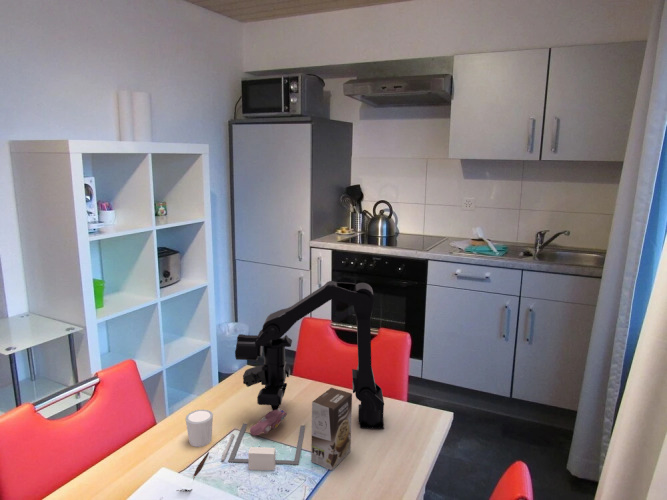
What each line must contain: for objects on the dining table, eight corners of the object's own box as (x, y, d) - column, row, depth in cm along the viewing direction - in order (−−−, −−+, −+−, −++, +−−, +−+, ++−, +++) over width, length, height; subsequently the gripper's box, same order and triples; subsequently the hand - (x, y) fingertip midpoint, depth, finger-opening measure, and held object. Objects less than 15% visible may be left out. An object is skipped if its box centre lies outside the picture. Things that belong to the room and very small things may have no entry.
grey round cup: (205, 429, 129) (204, 406, 127) (219, 440, 124) (218, 416, 123) (181, 440, 124) (180, 415, 123) (195, 451, 119) (193, 426, 118)
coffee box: (332, 471, 113) (333, 409, 109) (310, 462, 116) (310, 401, 113) (351, 451, 120) (353, 393, 117) (330, 443, 124) (331, 386, 120)
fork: (213, 454, 119) (213, 447, 119) (187, 499, 103) (187, 491, 103) (203, 453, 119) (203, 446, 119) (176, 498, 104) (175, 490, 103)
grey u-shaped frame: (305, 426, 131) (305, 411, 130) (297, 471, 112) (297, 454, 112) (236, 424, 132) (236, 409, 131) (217, 468, 113) (217, 452, 112)
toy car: (258, 444, 125) (266, 427, 122) (247, 432, 127) (255, 414, 124) (283, 427, 133) (291, 410, 130) (272, 416, 135) (280, 399, 132)
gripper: (252, 344, 140) (253, 393, 143) (237, 374, 121) (238, 429, 125) (290, 346, 139) (290, 395, 142) (280, 376, 121) (280, 431, 124)
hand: (274, 411), depth 133 cm, fingers closed
